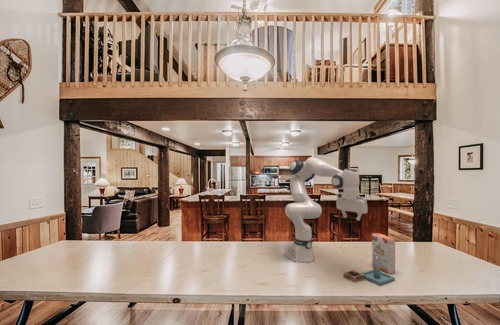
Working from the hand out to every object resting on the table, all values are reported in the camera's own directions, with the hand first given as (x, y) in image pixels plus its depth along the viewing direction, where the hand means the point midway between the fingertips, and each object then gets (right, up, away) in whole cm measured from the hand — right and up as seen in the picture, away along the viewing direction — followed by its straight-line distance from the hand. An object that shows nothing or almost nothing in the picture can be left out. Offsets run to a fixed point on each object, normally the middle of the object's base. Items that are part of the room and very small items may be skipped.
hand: (351, 218), depth 155 cm
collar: (-1, -33, -5) cm, 33 cm away
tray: (+12, -33, -6) cm, 36 cm away
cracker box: (+23, -34, +8) cm, 41 cm away
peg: (+12, -32, -6) cm, 35 cm away
